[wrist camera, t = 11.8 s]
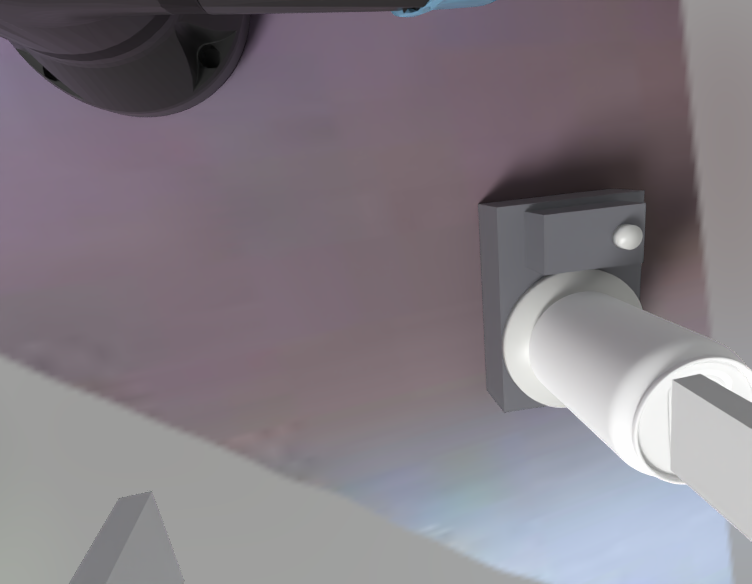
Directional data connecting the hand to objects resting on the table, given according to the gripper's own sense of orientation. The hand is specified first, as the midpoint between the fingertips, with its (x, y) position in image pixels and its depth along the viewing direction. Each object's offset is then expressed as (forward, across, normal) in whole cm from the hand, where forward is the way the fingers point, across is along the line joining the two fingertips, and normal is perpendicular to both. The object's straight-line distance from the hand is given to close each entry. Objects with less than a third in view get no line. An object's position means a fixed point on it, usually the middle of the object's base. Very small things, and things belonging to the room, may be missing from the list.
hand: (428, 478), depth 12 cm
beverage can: (+21, +15, -8) cm, 27 cm away
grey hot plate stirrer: (+26, +15, -6) cm, 31 cm away
